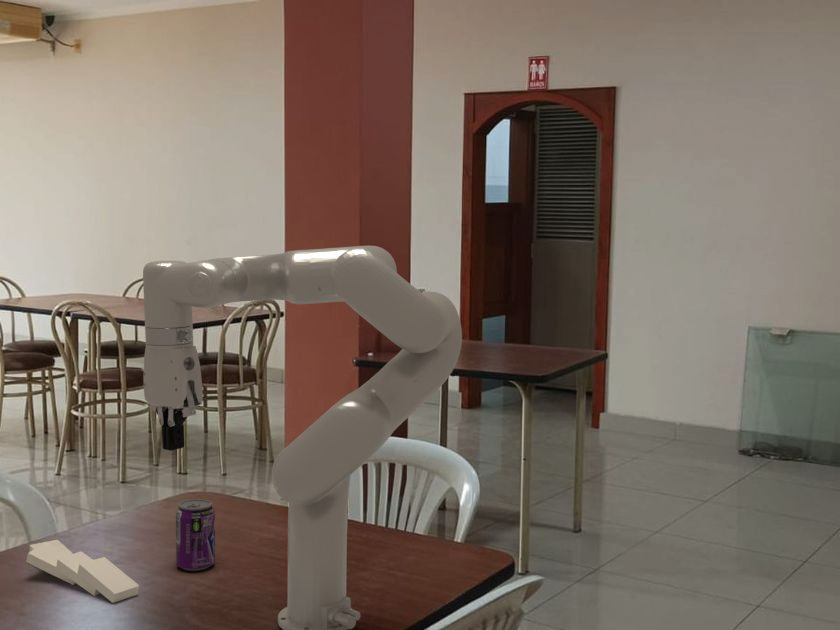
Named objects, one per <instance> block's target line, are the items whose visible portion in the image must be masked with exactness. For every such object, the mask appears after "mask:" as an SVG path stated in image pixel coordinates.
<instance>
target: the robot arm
mask: <svg viewBox="0 0 840 630" xmlns="http://www.w3.org/2000/svg"><path fill="white" fill-rule="evenodd" d="M142 284H143V286H142V287H143V288H142V289H143V306H144V307H143V309H144V310H143V311H144V332H145V333H144V335H145V336H144V337H145V349H144V356H143V393H144V394H143V395H144V400H145V401H146V402H147V403H148V404H149V405H148V407H149V409H150V410H151V411H153V412H155V413H156V414H157V416H158V423H159V425H161V440H162V441H161V443H162V444H161V446H162V449H163V450H167V451H175V450H180V449H182V448H184V447H185V424H186V422H187V419H188V417H192V416H195V415H197V410H196V406H200V405H202V403H203V397H204V396H203V395H204V393H203V383H202V382H203V381H202V380H203V379H202V371H201V363H200V358H199V354H198V350H197V346H196V345H194V326H193V325H194V324H193V323H194V322H193V307H196V308H200V309H201V308H202V309H207V308H208V309H211V308H215V307H220V306H223V305H226V304H231V303H237V302H239V303H240V302H255V301H269V300H270V301H272V300H273V301H275V300H278V301H285V302H289V303H290V304H294V305H308V304H324V303H338V302H339V303H340V302H344V303H345V304H346V305H348V306H349V307H350V308H351V309H352V310H353V311H354V312H356V313H357V314H358V315H359V316H360V317H362V318H363V319H364V320H365V321H366V322H368V323H369V324H370V325H372V326H373V328H375V330H378V331H379V332H380V333H381V334H382V335H383V336H384V337H386V338H387V339H388V340H390V341H391V342H392V343H394V345H396V346H397V347H399V348H401V350H400V351H398V353H397V354H396V355H395V356H394V357H392V359H390V360H389V361H388V362H387V363H386V364H385V365H384V366H382V368H381V369H380V370H378V372H376V373H375V374H374V375H373V376H372V377H371V378H370V379H369V380H367V381H366V382H364V383H363V384H362V385H361V386H360V387H358V388H356V389H354V390H353V391H352V392H350V393H348V394H347V395H345V396H344V397H342V398H341V399H340V400H338V401H337V402H335V404H334V405H332V406H331V407H330V408H328V410H327V411H325V412H324V413H323V414H322V415H321V416H320V417H319V418H318V419H316V420H315V421H314V422H313V423H312V424H311V425H309V426H308V428H306V429H305V430H304V431H303V432H302V433H300V435H298V436H297V437H296V438H295V439H294V440H292V441H291V442H290V443H289V444H288V445H287V446H286V447H284V448H283V449H282V450H281V451H280V452H279V454H278V455H277V456H276V459H275V460H274V462H273V465H272V470H271V480H272V485H273V487H274V489H275V491H276V493H277V494H278V495H279V497H280V498H281V499H283V500H284V501H285V502H287V503H288V509H287V510H288V513H287V514H288V515H287V606H286V607H284V608H282V609H281V610H280V611H279V613H278V615H277V624H278V627H279V628H281V629H282V630H352V629H354V627H355V626H356V624H357V621H359V620H360V618H361V612H360V611H358V610H356V609H353V608H352V607H351V606H352V605H351V604H352V603H351V602H352V600H351V597H349V596H347V564H348V563H347V559H348V555H347V553H348V552H347V545H348V511H349V510H348V508H349V493H350V485H351V484H350V482H351V475H352V474H353V473H355V471H357V470H358V469H359V468H360V467H361V466H363V465H364V464H365V463H366V462H367V461H368V460H369V459H370V458H372V457H373V455H375V454H376V453H377V452H378V451H379V450H380V449H381V448H382V447H383V446H384V444H385V443H386V442H387V441H388V440H389V438H390V437H391V436H392V434H394V431H396V430H397V429H398V427H399V426H401V425H402V423H403V422H405V421H407V420H408V418H409V417H411V415H413V414H414V413H415V412H416V411H417V410H418V409H419V408H420V407H421V406H422V405H424V403H426V401H428V400H429V399H430V398H431V397H432V396H434V394H435V393H436V392H437V391H438V390H439V389H440V388H441V387H442V386H443V385H444V383H445V382H446V381H447V379H448V378H449V377H450V375H451V374H452V373H453V371H454V369H455V366H456V364H457V362H458V360H459V356H460V353H461V349H462V342H463V333H462V332H463V331H462V324H461V319H460V316H459V313H458V310H457V308H456V306H455V305H454V303H453V302H452V301H451V300H450V298H448V297H447V296H446V295H444V294H442V293H441V292H437V291H429V290H428V291H422V292H421V291H420V290H418V289H417V288H416V287H415V286H413V284H411V283H410V282H408V280H406V279H405V278H404V277H402V276H401V275H400V274H399V273H398V269H397V265H396V262H395V259H394V257H393V255H392V254H391V253H390V252H388V251H387V250H386V249H384V248H383V247H380V246H376V245H357V246H355V245H354V246H340V247H327V248H326V247H325V248H313V249H298V250H295V249H294V250H288V251H285V252H282V253H277V254H267V255H266V254H263V255H252V256H251V255H249V256H248V255H247V256H232V257H218V258H212V259H206V260H205V259H204V260H198V261H193V262H186V261H183V260H158V261H157V260H155V261H149V262H148V263H146V264H144V266H143V270H142Z"/></svg>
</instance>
